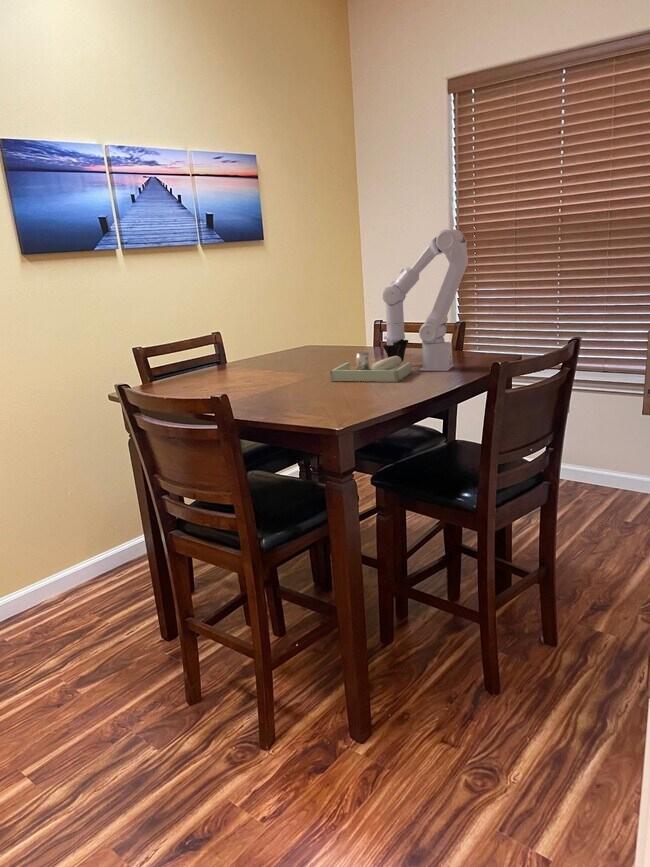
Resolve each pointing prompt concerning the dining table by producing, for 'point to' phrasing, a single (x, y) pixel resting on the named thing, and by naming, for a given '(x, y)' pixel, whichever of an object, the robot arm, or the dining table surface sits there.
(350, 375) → the tray
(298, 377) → the dining table surface
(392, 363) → the donut
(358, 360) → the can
